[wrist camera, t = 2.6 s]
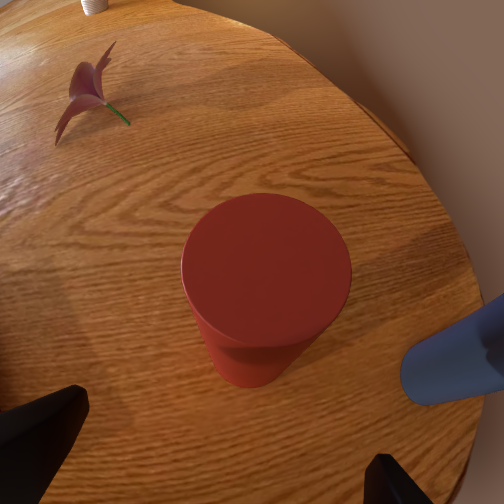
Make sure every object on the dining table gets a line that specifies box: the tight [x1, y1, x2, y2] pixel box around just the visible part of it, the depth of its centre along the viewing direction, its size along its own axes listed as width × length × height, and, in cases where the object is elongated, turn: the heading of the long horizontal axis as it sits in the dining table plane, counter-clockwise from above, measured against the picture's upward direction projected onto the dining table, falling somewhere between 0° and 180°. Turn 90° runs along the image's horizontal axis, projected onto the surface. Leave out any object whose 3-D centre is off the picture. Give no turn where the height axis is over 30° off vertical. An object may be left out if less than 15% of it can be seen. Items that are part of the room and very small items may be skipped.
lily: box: [55, 41, 130, 146], centre depth 28 cm, size 12×12×10 cm
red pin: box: [181, 193, 352, 388], centre depth 15 cm, size 5×5×13 cm
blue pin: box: [401, 293, 504, 406], centre depth 14 cm, size 5×5×13 cm
